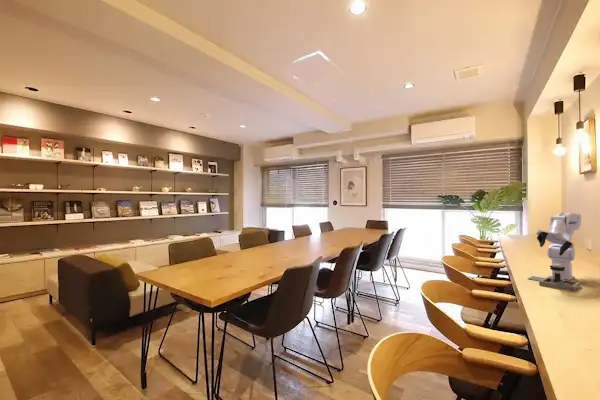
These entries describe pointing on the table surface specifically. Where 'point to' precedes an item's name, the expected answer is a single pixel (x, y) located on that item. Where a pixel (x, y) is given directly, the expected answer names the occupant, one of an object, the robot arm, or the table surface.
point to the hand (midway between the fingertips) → (551, 249)
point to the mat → (535, 278)
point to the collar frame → (571, 287)
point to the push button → (557, 274)
